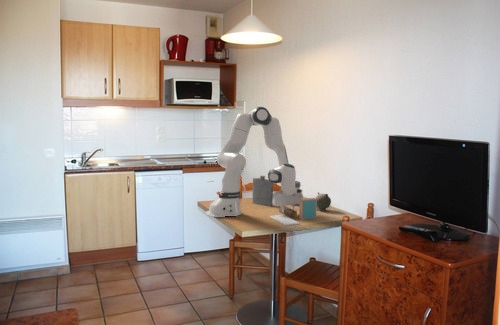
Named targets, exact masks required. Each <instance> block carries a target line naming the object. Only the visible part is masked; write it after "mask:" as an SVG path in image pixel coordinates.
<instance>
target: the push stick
mask: <svg viewBox="0 0 500 325" xmlns="http://www.w3.org/2000/svg"><path fill="white" fill-rule="evenodd" d="M278 207H279V208H278V212H279V213H282V215H285V216H287V217H289V218H291V219H295V218H298V217H297V213H298V211H297V210H294V209H293V210H292V209H290V208H291V207H288V206H287V205H284V207H283V208H284V209H285V210H286V211H285V212H282V208H281V206H278Z"/></svg>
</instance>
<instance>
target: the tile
mask: <svg viewBox="0 0 500 325" xmlns="http://www.w3.org/2000/svg"><path fill="white" fill-rule="evenodd" d="M317 207H318V206H317V199H316V197H310V198H309V197H308V198H303V199H300V204H299V211H298V212H299V215H298V218H299V220H313V219H317Z"/></svg>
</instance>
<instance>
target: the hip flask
mask: <svg viewBox="0 0 500 325" xmlns="http://www.w3.org/2000/svg"><path fill="white" fill-rule="evenodd" d="M265 178H266V175H260V176H259V177H253V178H252V204H254V203H256V204H255V205H259V204H260V206H268V207H273V206H274V205H273V204H272V201H273V193H274V183H271V182H270V181H269V179H268V178H266V179H265Z"/></svg>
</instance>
